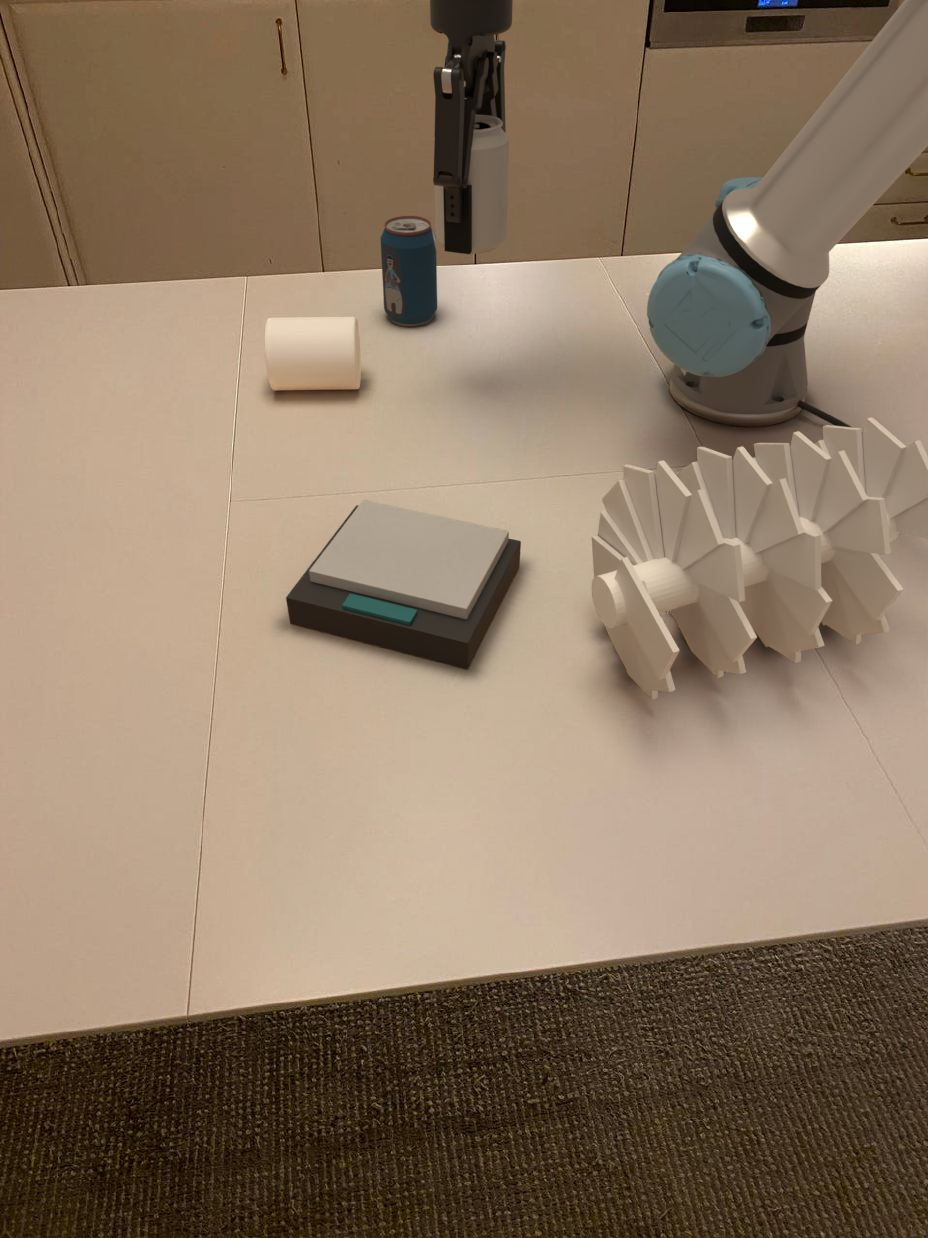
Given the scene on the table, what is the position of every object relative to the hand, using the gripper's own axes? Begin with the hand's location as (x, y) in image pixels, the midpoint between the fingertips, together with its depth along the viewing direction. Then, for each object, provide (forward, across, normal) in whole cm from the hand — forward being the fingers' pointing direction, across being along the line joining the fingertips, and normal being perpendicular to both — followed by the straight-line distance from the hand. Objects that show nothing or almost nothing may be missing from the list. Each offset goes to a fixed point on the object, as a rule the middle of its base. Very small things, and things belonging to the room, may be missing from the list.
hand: (471, 237), depth 100 cm
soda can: (+17, -14, -14) cm, 26 cm away
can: (+1, 0, 0) cm, 1 cm away
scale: (+17, +38, +8) cm, 42 cm away
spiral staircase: (+18, +34, +35) cm, 51 cm away
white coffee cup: (+17, +5, -18) cm, 25 cm away
